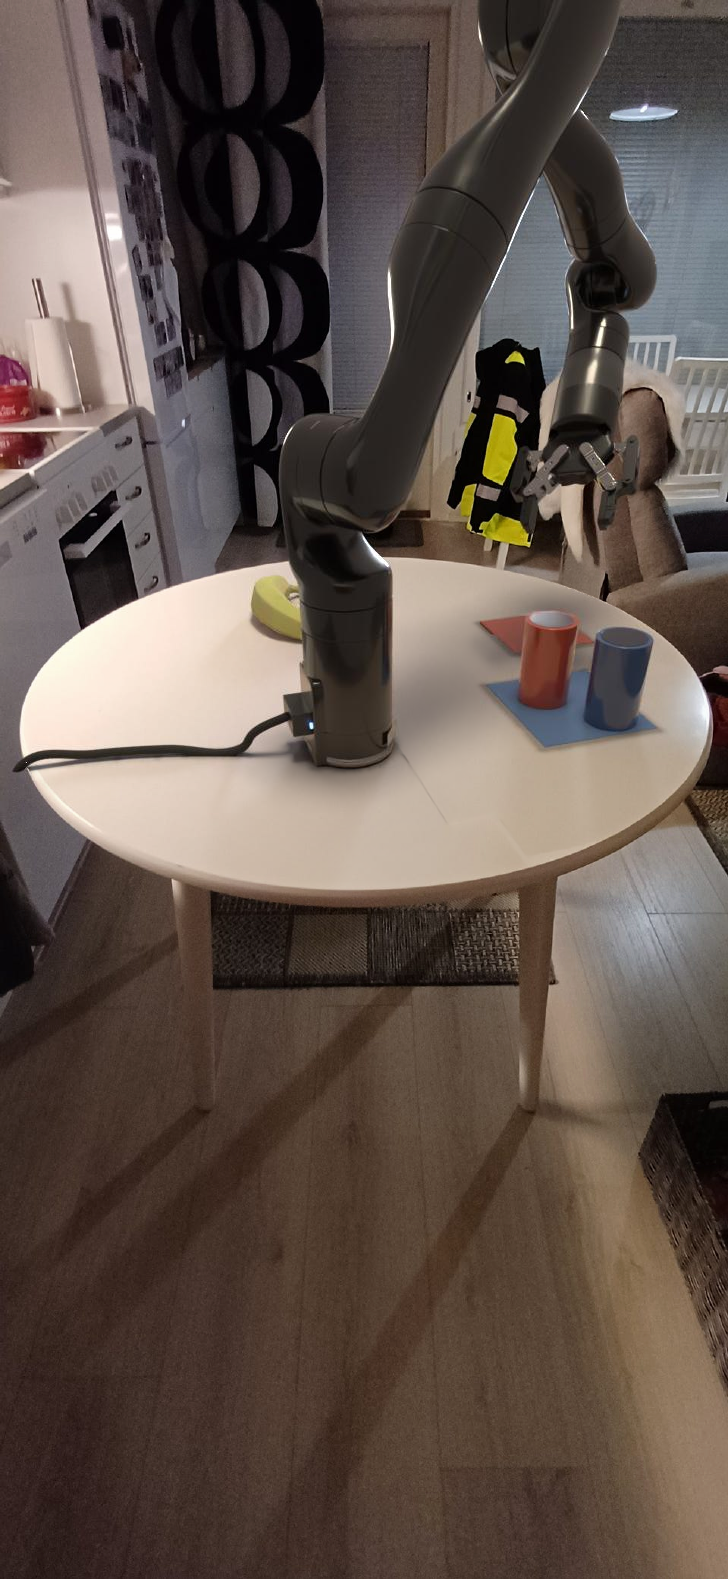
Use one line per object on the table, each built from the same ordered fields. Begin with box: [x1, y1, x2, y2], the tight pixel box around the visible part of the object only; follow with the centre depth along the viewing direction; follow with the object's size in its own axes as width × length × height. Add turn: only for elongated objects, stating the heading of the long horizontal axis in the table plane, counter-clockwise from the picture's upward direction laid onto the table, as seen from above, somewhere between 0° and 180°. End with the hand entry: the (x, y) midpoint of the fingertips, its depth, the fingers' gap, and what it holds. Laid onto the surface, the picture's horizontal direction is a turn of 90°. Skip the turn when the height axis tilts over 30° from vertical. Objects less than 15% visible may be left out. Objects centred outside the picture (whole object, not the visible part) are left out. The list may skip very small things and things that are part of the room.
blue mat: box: [485, 669, 658, 748], centre depth 92 cm, size 14×16×1 cm
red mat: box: [479, 614, 595, 654], centre depth 111 cm, size 12×12×1 cm
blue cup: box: [583, 626, 655, 731], centre depth 86 cm, size 6×6×10 cm
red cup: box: [517, 609, 580, 710], centre depth 91 cm, size 6×6×10 cm
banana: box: [250, 574, 302, 641], centre depth 117 cm, size 14×6×20 cm
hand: (564, 528), depth 89 cm, fingers open, 8 cm apart
